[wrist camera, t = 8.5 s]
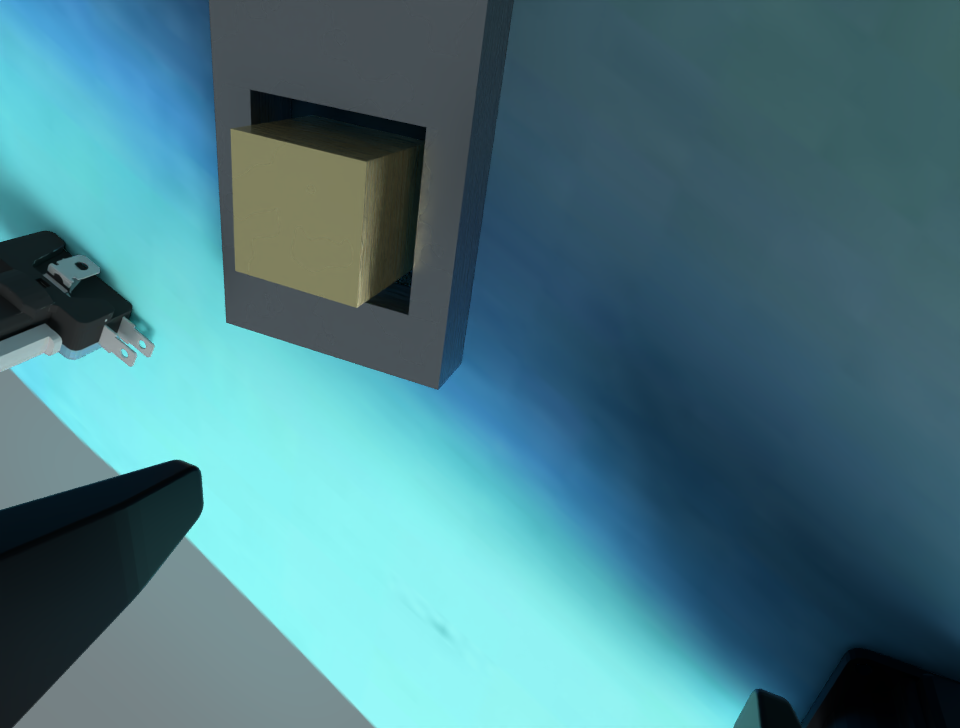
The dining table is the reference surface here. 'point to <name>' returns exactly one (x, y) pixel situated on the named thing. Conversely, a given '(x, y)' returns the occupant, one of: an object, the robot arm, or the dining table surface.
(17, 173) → the dining table surface
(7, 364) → the push button
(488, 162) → the rectangular frame
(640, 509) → the dining table surface
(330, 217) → the tan wooden cube
